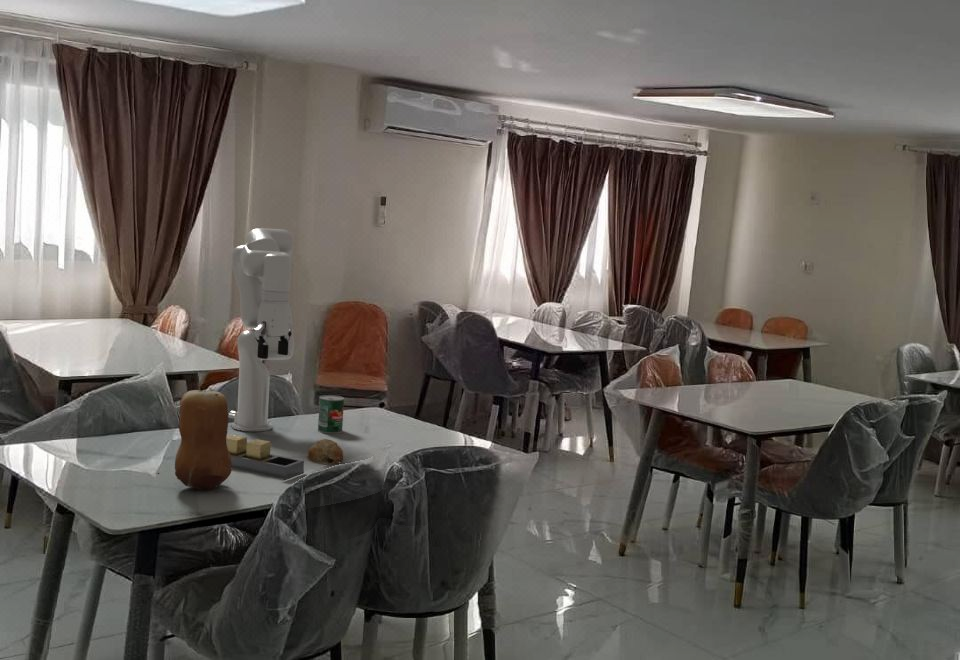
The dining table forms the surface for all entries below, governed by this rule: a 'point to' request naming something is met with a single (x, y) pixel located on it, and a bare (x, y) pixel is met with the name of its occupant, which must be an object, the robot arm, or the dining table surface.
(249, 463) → the grey compartment tray
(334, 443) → the bread roll
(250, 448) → the tan cubic block
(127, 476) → the dining table surface
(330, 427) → the canned tomato
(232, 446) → the khaki cardboard box
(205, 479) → the butternut squash
